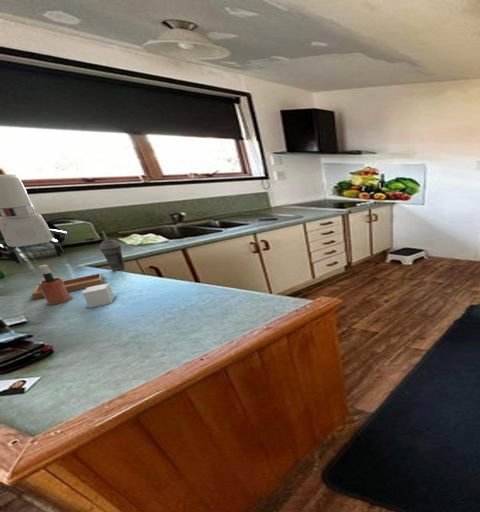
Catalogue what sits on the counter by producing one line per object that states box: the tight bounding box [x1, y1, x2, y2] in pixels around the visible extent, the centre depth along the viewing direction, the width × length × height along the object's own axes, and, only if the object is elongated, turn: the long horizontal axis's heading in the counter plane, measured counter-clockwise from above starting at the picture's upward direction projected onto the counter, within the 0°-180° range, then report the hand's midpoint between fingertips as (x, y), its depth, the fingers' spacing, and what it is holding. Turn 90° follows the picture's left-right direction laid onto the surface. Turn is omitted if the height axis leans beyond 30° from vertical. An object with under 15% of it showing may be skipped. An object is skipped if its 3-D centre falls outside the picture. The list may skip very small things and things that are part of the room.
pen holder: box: [37, 277, 72, 305], centre depth 102 cm, size 6×6×8 cm
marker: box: [38, 264, 55, 283], centre depth 101 cm, size 2×2×14 cm
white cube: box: [82, 282, 115, 309], centre depth 101 cm, size 6×6×6 cm
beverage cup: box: [99, 230, 126, 273], centre depth 131 cm, size 7×7×20 cm
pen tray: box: [31, 272, 104, 300], centre depth 115 cm, size 19×10×2 cm, turn 134°
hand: (40, 259), depth 98 cm, fingers open, 9 cm apart
